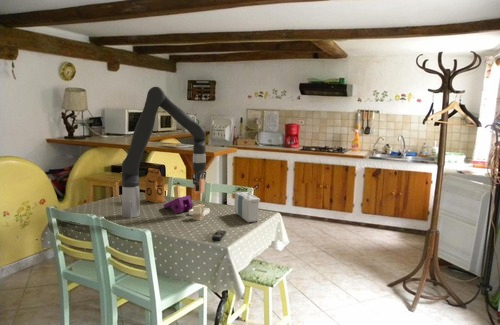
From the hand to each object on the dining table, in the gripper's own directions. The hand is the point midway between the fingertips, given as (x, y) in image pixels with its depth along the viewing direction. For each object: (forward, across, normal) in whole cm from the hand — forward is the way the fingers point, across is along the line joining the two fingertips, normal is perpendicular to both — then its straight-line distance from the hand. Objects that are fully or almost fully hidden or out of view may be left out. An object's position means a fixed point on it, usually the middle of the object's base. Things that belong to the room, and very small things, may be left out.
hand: (199, 190), depth 228 cm
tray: (+14, 0, 0) cm, 14 cm away
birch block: (+14, +10, +4) cm, 18 cm away
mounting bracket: (+15, -2, -17) cm, 22 cm away
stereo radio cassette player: (+15, -3, +28) cm, 32 cm away
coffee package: (+14, -16, -40) cm, 46 cm away
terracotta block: (+1, 0, 0) cm, 1 cm away
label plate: (+14, -16, -8) cm, 23 cm away
